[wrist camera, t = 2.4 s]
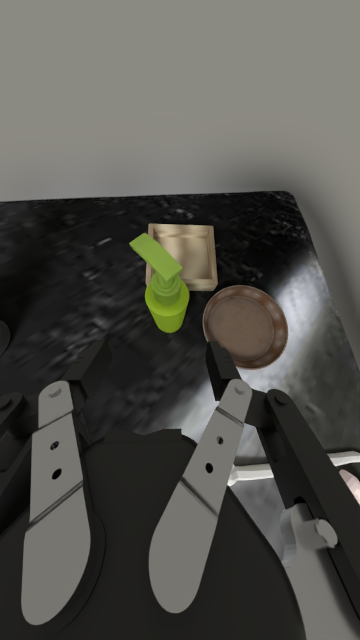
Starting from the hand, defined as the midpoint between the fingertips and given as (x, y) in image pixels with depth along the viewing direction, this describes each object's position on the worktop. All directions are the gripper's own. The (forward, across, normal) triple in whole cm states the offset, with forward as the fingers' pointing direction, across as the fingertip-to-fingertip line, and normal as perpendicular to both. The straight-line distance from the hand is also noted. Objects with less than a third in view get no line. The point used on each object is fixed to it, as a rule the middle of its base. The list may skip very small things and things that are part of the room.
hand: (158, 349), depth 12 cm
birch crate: (+29, -3, -2) cm, 29 cm away
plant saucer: (+18, -16, +10) cm, 26 cm away
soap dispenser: (+19, 0, +8) cm, 21 cm away
